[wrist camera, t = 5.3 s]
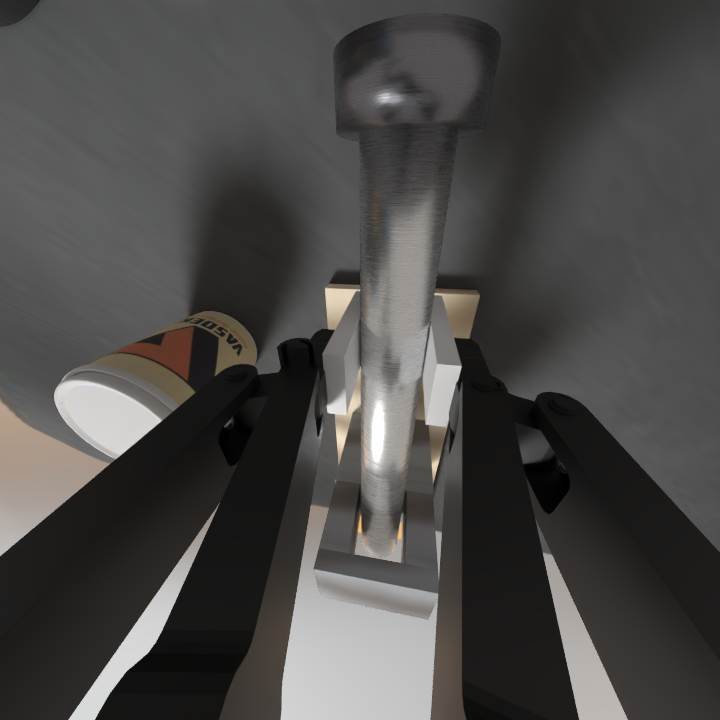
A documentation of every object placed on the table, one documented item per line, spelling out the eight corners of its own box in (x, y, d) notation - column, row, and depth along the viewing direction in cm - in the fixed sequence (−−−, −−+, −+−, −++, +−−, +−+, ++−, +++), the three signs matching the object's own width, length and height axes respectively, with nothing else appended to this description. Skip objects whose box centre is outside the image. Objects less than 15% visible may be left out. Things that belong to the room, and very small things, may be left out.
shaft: (350, 87, 9) (311, 24, 6) (480, 79, 9) (528, 4, 5) (357, 506, 24) (348, 562, 21) (406, 514, 24) (405, 572, 20)
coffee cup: (276, 332, 26) (193, 421, 16) (253, 392, 31) (180, 488, 21) (184, 284, 25) (34, 349, 15) (176, 355, 30) (60, 439, 20)
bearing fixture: (328, 283, 23) (222, 408, 10) (476, 290, 21) (578, 450, 8) (343, 495, 40) (312, 639, 27) (424, 507, 38) (431, 667, 26)
